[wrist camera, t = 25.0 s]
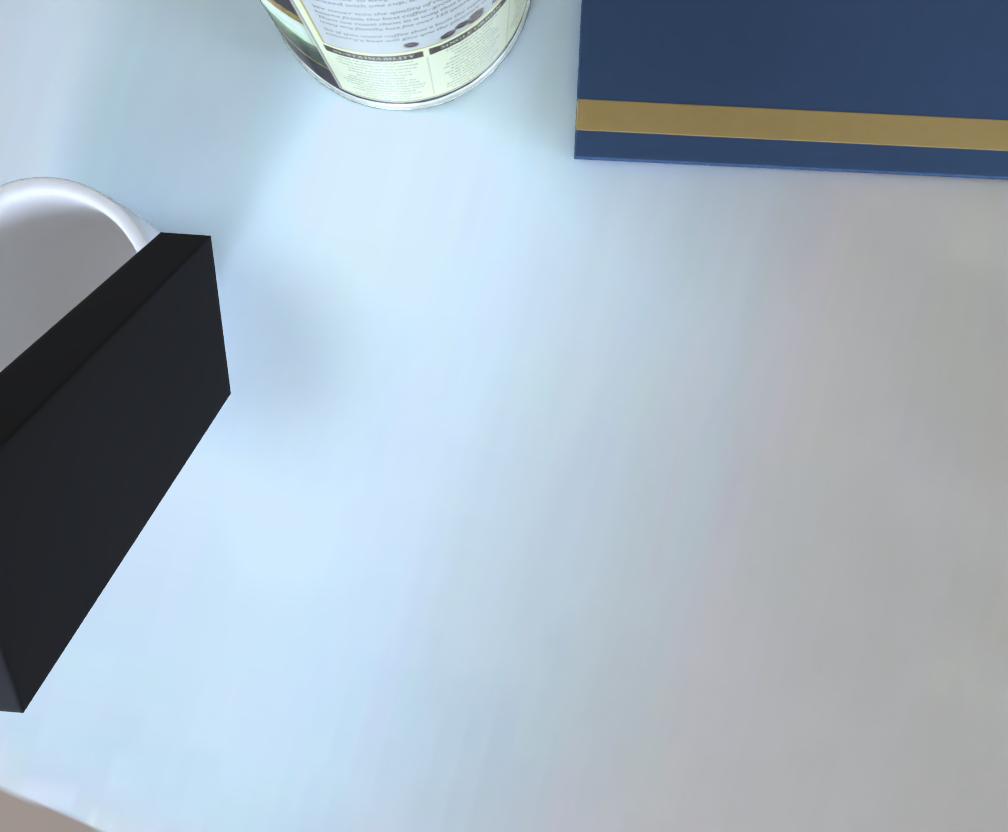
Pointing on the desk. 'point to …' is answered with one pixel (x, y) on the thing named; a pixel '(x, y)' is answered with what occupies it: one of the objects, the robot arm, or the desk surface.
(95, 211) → the teacup
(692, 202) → the desk surface
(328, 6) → the coffee can
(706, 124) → the blue flat rectangular block
